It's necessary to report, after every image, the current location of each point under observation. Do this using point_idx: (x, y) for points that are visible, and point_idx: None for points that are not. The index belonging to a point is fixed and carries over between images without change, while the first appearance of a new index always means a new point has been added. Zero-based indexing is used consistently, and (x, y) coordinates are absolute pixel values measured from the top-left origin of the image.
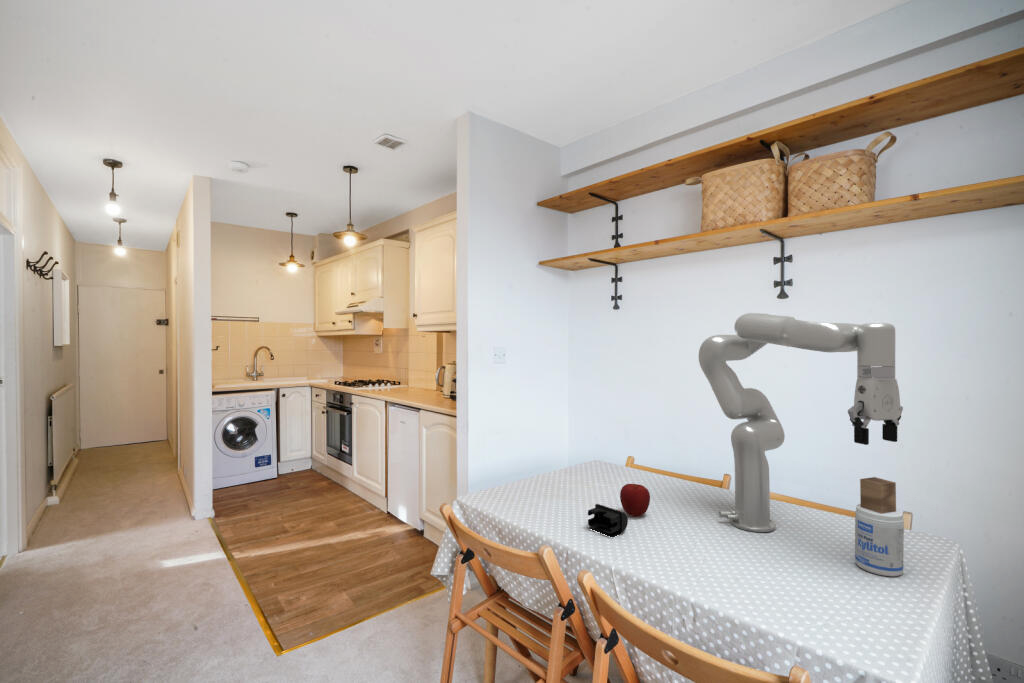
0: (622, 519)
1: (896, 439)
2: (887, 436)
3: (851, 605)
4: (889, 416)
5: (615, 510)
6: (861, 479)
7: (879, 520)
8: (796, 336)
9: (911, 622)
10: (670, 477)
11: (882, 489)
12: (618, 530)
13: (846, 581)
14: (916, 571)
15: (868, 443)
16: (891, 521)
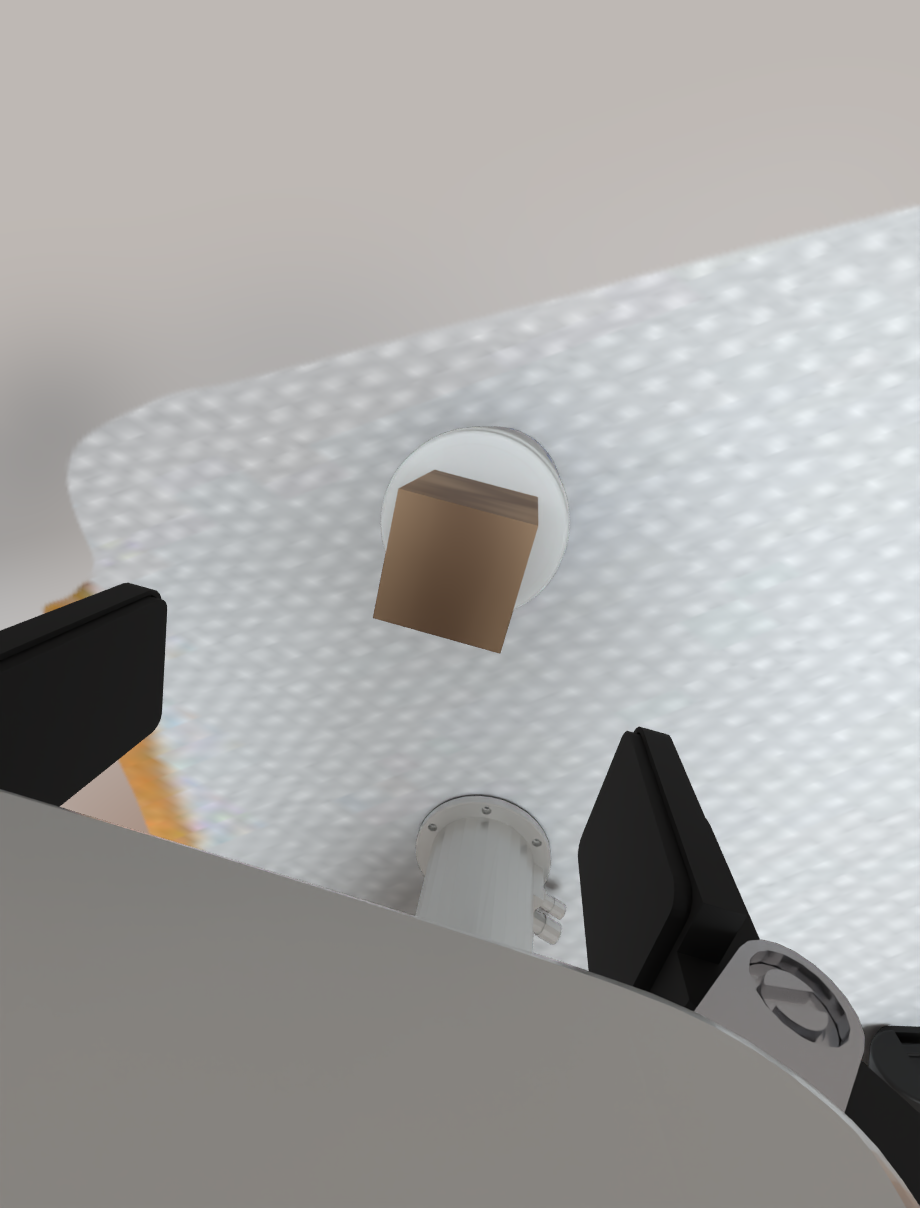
0: (917, 1077)
1: (126, 592)
2: (130, 697)
3: (863, 431)
4: (55, 895)
5: None
6: (502, 645)
7: (563, 491)
8: None
9: (846, 269)
10: None
11: (523, 515)
12: (907, 1043)
13: (686, 512)
14: (415, 414)
15: (645, 730)
16: (533, 451)
